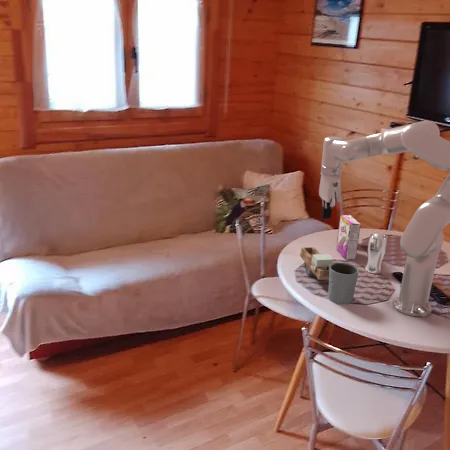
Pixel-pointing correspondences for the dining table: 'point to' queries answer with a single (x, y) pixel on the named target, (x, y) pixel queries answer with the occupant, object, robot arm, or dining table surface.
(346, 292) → the grey green cup
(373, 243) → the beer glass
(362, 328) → the dining table surface
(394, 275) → the dining table surface
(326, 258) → the block
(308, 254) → the brown long open box
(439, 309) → the dining table surface
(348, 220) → the candy bar box
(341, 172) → the robot arm
